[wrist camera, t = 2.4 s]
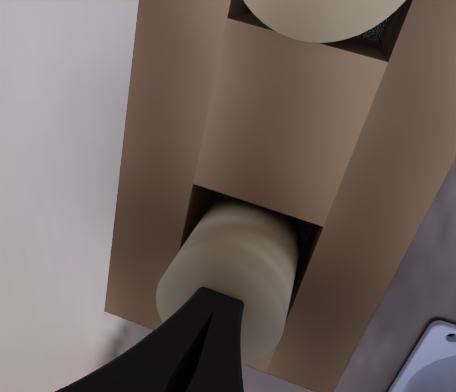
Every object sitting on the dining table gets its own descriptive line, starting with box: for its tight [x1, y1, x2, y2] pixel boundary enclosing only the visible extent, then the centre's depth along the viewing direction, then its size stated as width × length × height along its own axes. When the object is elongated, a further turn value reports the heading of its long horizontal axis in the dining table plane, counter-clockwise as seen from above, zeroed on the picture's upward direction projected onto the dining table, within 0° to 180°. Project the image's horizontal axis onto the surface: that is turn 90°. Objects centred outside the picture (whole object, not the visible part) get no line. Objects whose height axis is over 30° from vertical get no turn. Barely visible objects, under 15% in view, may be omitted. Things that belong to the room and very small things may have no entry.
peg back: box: [156, 195, 301, 363], centre depth 15 cm, size 4×4×4 cm
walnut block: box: [105, 0, 456, 392], centre depth 15 cm, size 10×20×5 cm, turn 168°
